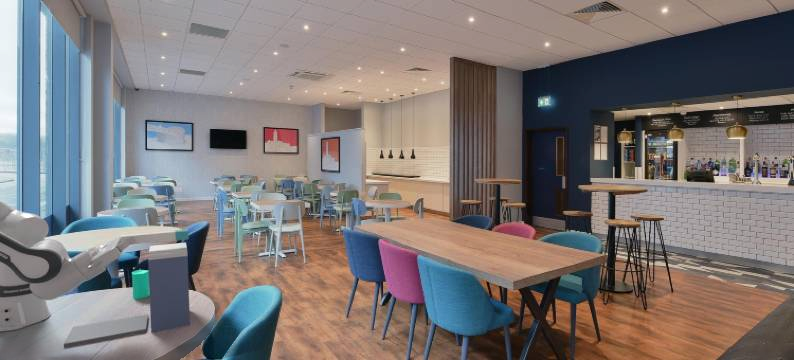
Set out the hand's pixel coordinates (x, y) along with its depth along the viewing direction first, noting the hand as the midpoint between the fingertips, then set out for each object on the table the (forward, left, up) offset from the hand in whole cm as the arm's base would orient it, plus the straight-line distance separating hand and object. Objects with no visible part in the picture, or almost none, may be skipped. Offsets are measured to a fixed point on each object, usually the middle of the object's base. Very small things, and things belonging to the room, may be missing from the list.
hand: (134, 237), depth 137 cm
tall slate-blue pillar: (+10, 0, -31) cm, 32 cm away
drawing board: (-8, 0, -31) cm, 32 cm away
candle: (-1, +34, -31) cm, 46 cm away
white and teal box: (+6, 0, -2) cm, 7 cm away
